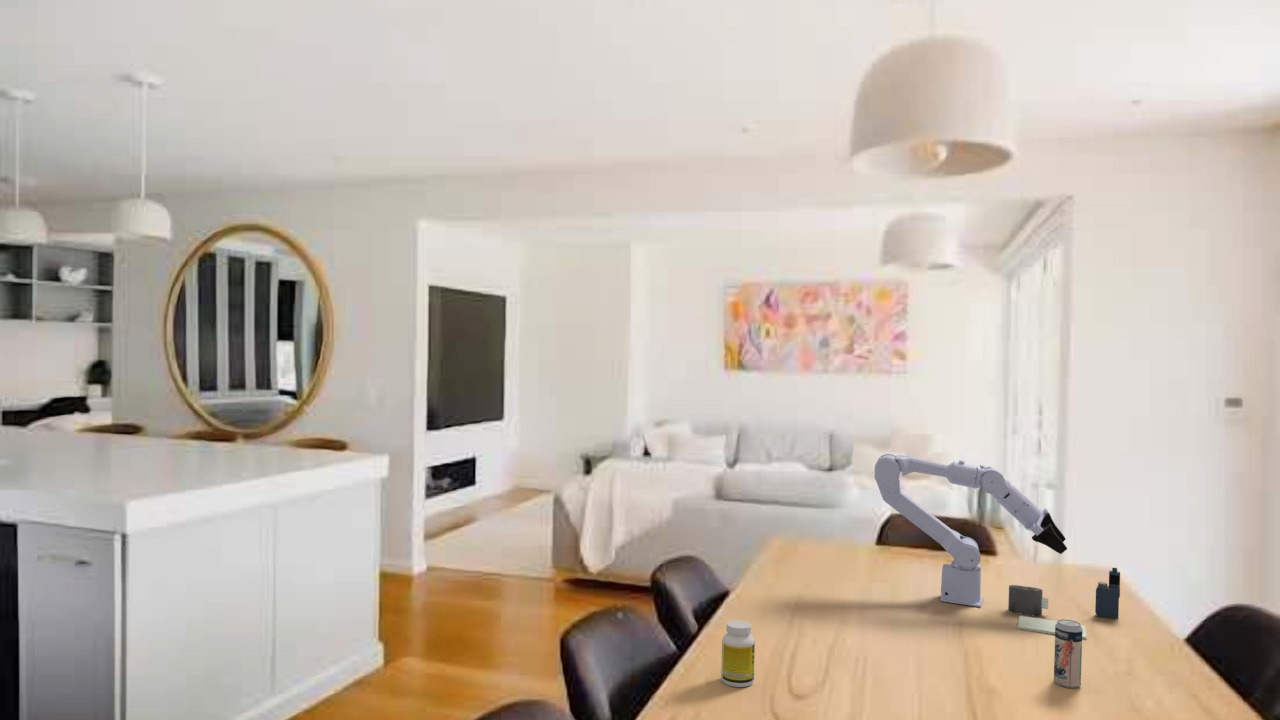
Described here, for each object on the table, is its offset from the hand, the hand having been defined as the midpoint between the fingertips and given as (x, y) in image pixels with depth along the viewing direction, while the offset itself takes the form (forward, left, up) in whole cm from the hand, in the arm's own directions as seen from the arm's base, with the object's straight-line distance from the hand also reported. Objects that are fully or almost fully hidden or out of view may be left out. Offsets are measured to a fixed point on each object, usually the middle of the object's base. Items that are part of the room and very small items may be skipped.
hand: (1063, 546), depth 204 cm
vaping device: (+10, +2, -17) cm, 19 cm away
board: (-2, -15, -16) cm, 22 cm away
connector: (-8, -5, -16) cm, 19 cm away
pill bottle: (-55, -81, -17) cm, 99 cm away
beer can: (+1, -50, -17) cm, 53 cm away
